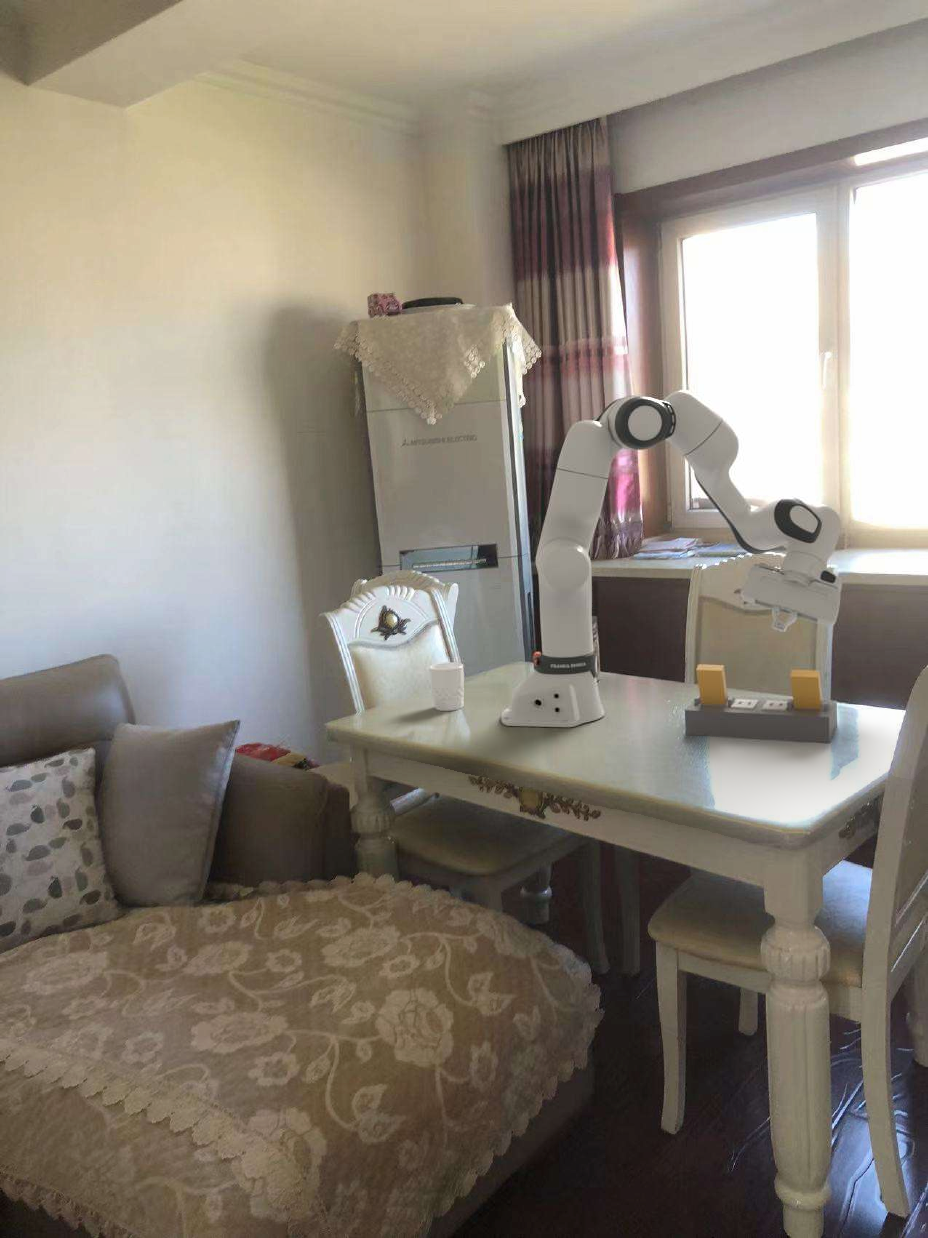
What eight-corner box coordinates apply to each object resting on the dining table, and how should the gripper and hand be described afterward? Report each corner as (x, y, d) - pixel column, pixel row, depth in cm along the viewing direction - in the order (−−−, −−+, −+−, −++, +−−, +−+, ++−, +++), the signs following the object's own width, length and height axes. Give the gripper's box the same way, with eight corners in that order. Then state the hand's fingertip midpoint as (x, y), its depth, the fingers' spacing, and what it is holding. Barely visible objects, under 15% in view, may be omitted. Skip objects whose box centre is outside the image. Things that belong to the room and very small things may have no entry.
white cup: (430, 712, 229) (426, 670, 228) (435, 703, 237) (432, 663, 235) (464, 711, 228) (461, 668, 227) (468, 702, 236) (465, 661, 234)
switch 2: (794, 707, 192) (790, 676, 188) (795, 701, 193) (791, 669, 189) (821, 709, 190) (818, 677, 185) (822, 702, 191) (819, 670, 187)
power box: (685, 734, 197) (684, 704, 196) (700, 718, 208) (699, 689, 207) (829, 743, 185) (829, 710, 184) (837, 725, 196) (836, 694, 195)
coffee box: (594, 687, 241) (590, 622, 238) (568, 687, 243) (564, 622, 240) (601, 678, 249) (598, 615, 247) (576, 678, 251) (572, 615, 249)
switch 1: (700, 703, 200) (696, 669, 197) (703, 697, 202) (698, 664, 198) (726, 704, 198) (721, 670, 194) (727, 698, 199) (723, 665, 196)
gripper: (753, 553, 215) (729, 607, 211) (849, 581, 206) (826, 638, 202) (753, 567, 220) (730, 620, 216) (847, 595, 212) (825, 650, 208)
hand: (777, 629), depth 209 cm, fingers closed
